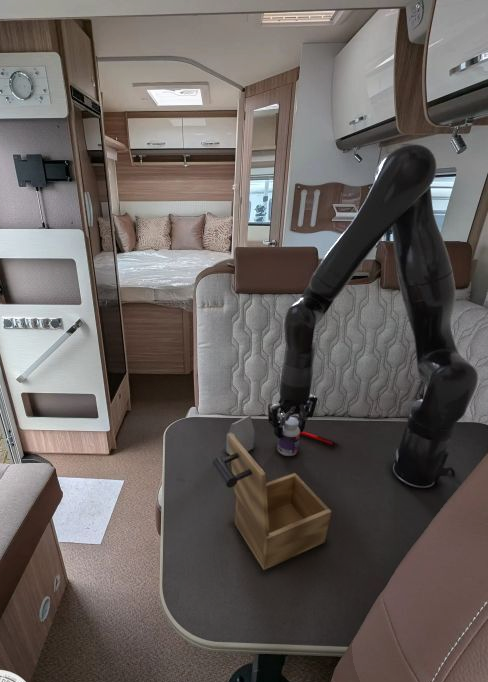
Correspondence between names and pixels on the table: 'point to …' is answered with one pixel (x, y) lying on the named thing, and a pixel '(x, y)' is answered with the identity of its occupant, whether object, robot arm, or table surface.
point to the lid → (245, 482)
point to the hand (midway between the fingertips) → (289, 433)
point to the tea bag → (242, 433)
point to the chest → (285, 522)
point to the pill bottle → (289, 438)
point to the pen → (319, 438)
